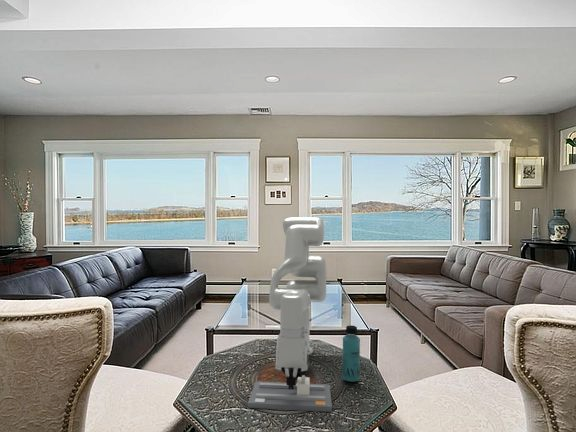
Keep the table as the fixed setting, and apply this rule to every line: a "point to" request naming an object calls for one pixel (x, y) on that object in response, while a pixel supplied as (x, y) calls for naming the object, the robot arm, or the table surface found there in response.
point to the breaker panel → (290, 397)
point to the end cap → (301, 371)
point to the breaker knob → (303, 385)
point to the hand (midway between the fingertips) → (291, 387)
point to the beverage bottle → (351, 355)
